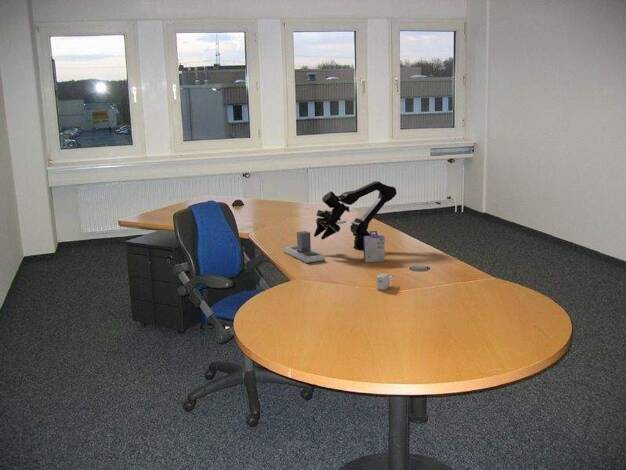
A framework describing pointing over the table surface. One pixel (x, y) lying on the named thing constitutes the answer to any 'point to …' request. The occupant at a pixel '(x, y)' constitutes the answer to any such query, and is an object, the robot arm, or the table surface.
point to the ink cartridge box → (374, 247)
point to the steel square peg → (303, 242)
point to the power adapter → (383, 281)
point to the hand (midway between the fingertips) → (318, 237)
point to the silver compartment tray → (305, 255)
